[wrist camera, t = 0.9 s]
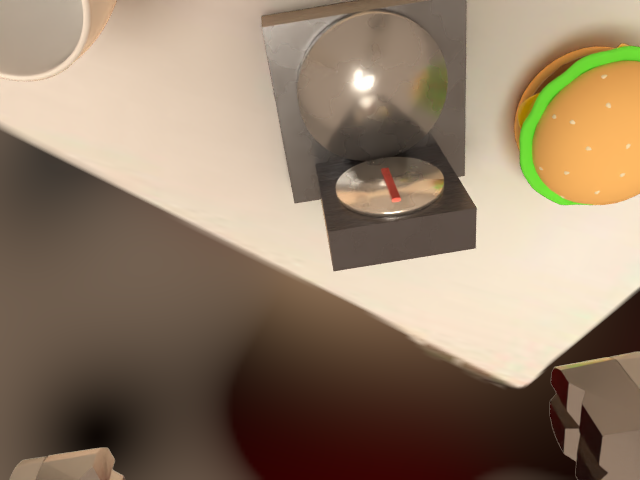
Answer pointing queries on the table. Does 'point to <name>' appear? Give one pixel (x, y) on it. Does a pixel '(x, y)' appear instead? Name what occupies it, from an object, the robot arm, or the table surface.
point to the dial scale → (376, 124)
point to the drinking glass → (47, 35)
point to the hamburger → (583, 127)
